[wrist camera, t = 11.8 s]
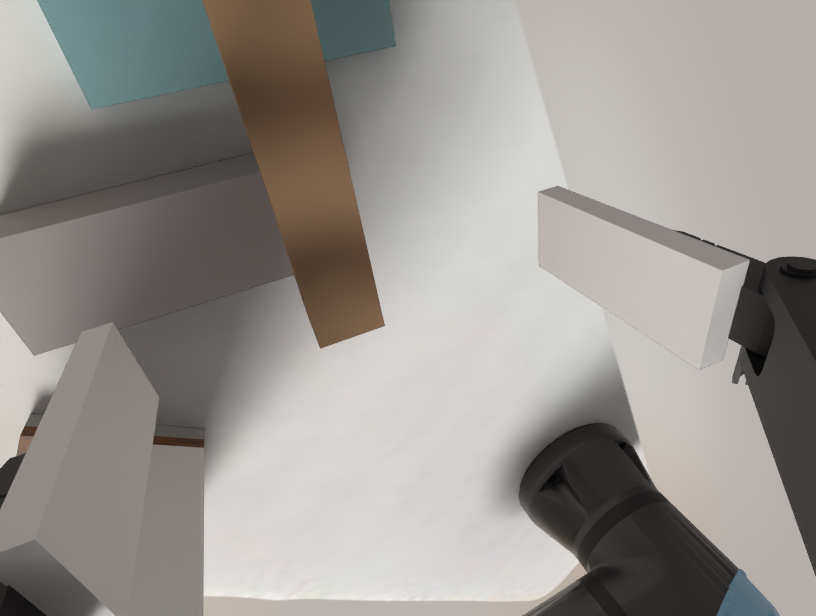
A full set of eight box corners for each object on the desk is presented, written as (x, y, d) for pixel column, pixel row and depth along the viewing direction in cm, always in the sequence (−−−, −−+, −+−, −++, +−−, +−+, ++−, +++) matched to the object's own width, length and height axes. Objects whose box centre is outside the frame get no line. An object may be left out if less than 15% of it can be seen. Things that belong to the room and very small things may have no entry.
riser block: (317, 234, 31) (334, 262, 27) (59, 310, 27) (34, 355, 23) (291, 143, 28) (305, 160, 24) (-5, 216, 24) (-48, 250, 20)
